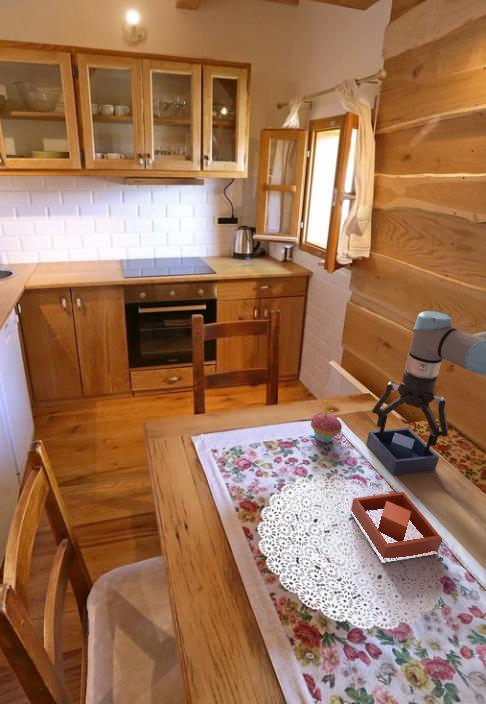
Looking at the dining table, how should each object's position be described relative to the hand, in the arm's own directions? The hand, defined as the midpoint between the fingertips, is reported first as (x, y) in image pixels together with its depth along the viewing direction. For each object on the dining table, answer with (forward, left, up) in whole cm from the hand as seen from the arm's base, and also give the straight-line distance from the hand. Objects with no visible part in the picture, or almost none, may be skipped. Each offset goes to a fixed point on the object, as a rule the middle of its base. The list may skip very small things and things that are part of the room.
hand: (402, 445), depth 109 cm
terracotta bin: (-22, +17, -4) cm, 28 cm away
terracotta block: (-22, +17, -4) cm, 28 cm away
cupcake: (+11, +17, -4) cm, 21 cm away
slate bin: (0, 0, -4) cm, 4 cm away
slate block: (0, 0, -4) cm, 4 cm away
